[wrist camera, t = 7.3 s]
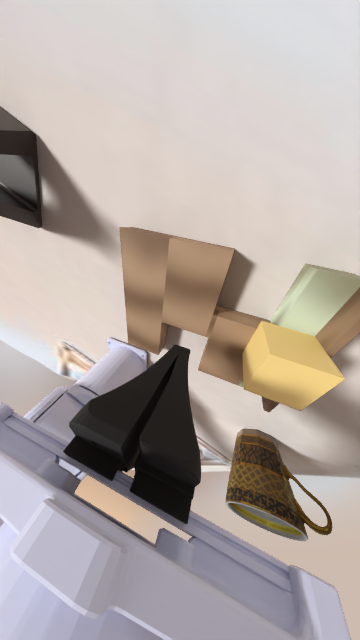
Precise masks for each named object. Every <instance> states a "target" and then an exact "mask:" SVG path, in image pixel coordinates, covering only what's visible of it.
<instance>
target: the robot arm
mask: <svg viewBox="0 0 360 640" xmlns="http://www.w3.org/2000/svg"><path fill="white" fill-rule="evenodd" d="M107 342H108V347H109V351H108V352H107V353H106V354H105V355H104V356H103V357H102V358H101V359H100V360H99V361H98V362H97V363H96V364H95V365H94V366H93V367H92V368H91V369H90V370H89V371H87V372H86V373H85V374H84V375H83V376H82V377H81V378H80V379H79V380H78V381H77V382H76V383H75V384H74V385H73V386H71V387H70V388H68V386H66V385H64V386H58V387H57V388H56V389H54V390H53V391H52V392H51V393H50V394H49V395H48V396H46V397H45V398H44V399H43V400H42V401H41V402H40V403H38V404H37V405H36V406H35V407H34V408H33V409H31V410H30V412H28V413H27V414H26V415H25V416H24V417H23V416H21V415H19V414H17V413H15V412H14V411H13V409H11V407H9V406H8V405H6V404H5V403H3V402H1V401H0V640H351V637H350V634H349V630H348V627H347V624H346V619H345V616H344V612H343V609H342V605H341V602H340V598H339V594H338V591H337V590H336V588H335V587H334V586H333V585H331V584H329V583H327V582H326V581H324V580H322V579H320V578H318V577H317V576H315V575H313V574H311V573H309V572H308V571H306V570H304V569H301V568H299V567H297V566H294V565H287V564H285V563H283V562H281V561H280V560H277V559H276V558H274V557H273V556H271V555H269V554H267V553H265V552H263V551H262V550H260V549H258V548H256V547H255V546H253V545H251V544H249V543H248V542H246V541H244V540H242V539H240V538H239V537H237V536H235V535H233V534H231V533H230V532H228V531H226V530H224V529H223V528H221V527H219V526H217V525H215V524H214V523H212V522H210V521H208V520H206V519H205V518H203V517H201V516H199V515H198V514H196V513H194V512H192V511H190V507H191V501H192V499H193V494H194V489H195V487H196V486H197V485H198V484H199V483H200V480H201V461H200V450H199V446H198V442H197V438H196V433H195V429H194V424H193V419H192V413H191V407H190V400H189V391H188V360H189V355H190V349H187V348H184V347H181V346H179V345H176V344H175V345H174V346H173V347H172V348H171V349H170V350H169V351H168V352H167V353H166V354H165V355H164V356H163V357H162V358H160V359H159V360H158V361H157V362H156V363H155V364H153V365H152V366H151V367H149V368H148V369H147V352H146V351H144V350H141V349H138V348H136V347H133V346H131V345H128V344H125V343H123V342H120V341H117V340H115V339H112V338H108V339H107ZM67 388H68V389H67ZM133 467H134V468H135V476H134V479H133V478H132V477H130V476H128V475H126V474H124V473H123V472H122V471H125V472H127V471H128V470H130V469H132V468H133ZM87 475H89V476H91V477H92V478H94V479H96V480H97V481H99V482H101V483H102V484H104V485H106V486H107V487H109V488H111V489H113V490H115V491H116V492H118V493H119V494H121V495H123V496H124V497H126V498H128V499H129V500H131V501H133V502H134V503H136V504H138V505H140V506H141V507H143V508H145V509H146V510H148V511H150V512H151V513H153V514H155V515H157V516H158V517H160V518H162V519H163V520H165V521H167V522H168V523H170V524H172V525H174V526H175V527H177V528H178V529H180V530H182V531H184V532H185V533H187V534H189V535H190V536H192V537H191V538H190V539H189V540H188V542H187V541H186V540H184V539H182V538H180V537H179V536H177V535H175V534H173V533H171V532H170V531H168V530H166V529H164V528H163V529H159V532H158V536H157V540H156V543H155V544H154V543H152V542H150V541H149V540H147V539H146V538H144V537H143V536H141V535H140V534H138V533H136V532H135V531H133V530H132V529H130V528H129V527H127V526H126V525H124V524H122V523H121V522H119V521H118V520H116V519H114V518H113V517H111V516H110V515H108V514H106V513H105V512H103V511H102V510H100V509H98V508H97V507H95V506H93V505H92V504H90V503H89V502H87V501H86V500H84V499H82V498H80V497H79V496H77V495H76V494H74V493H75V490H76V489H77V487H78V485H79V484H80V482H81V481H82V480H83V479H84V478H85V476H87Z"/></svg>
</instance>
